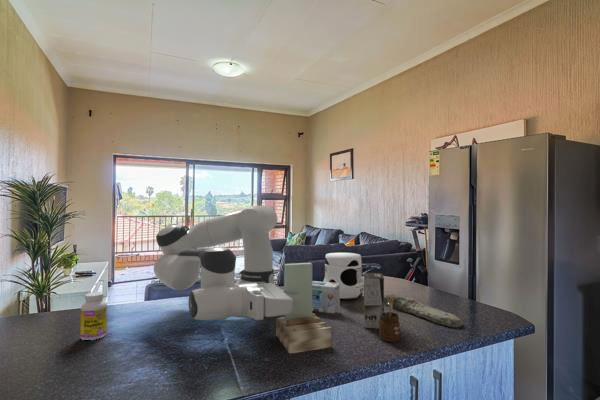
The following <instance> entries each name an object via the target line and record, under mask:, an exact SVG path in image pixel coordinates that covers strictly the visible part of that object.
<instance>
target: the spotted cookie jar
mask: <svg viewBox="0 0 600 400" xmlns="http://www.w3.org/2000/svg"><path fill="white" fill-rule="evenodd" d="M362 266H363V265H362V256H361V254H359V253H355V252H329V253H328V252H327V253H326V254H325V257H324V279H323V281H322V282H331V283H340V301H351V300H356V299H359V298H361V297H362V296H363V295H364V279H363V276H362V274H363V273H362V269H363V267H362Z"/></svg>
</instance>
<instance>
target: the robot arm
mask: <svg viewBox="0 0 600 400" xmlns="http://www.w3.org/2000/svg"><path fill="white" fill-rule="evenodd" d="M277 223H278V215H277V213H276V211H275V210H274V209H272V208H271V207H269V206H267V205H250V206H247V207H245V208H243V210H240V211H239V210H238V211H236V212H235V211H234V212H230V213H227V214H224V215H219V216H217V217H213V218H208V219H206V220H204V221H201V222H198V223H197V224H194V225H193V226H191V227H189V226H186V225H182V224H177V223H175V224H170V225H167V226H165V227H163V228H162V229H160V230H159V231H158V233H156V236H155V240H156V243H157V245H158V247H159V248H160V250H161V252H162V255H161V256H160V257H158V258H157V259H156V261H155V262H154V264H153V272H154V275H155V277H156V278H157V279H158V280H159V282H161V283H162V284H163V285H165V286H166V287H168V288H170V289H172V290H175V291H185V290H187V289H190V288H191V287H192V286H194V285H195V283H196V282H197V280H198V278H200V287H199V288H195V289H193V290H192V289H191V291H190V293H189V295H188V310H189V315H190V316H191V318H192V319H193V320H197V321H218V320H226V319H228V318H232V317H235V318H245V317H247V318H251V319H253V320H255V321H262V320H264V319H265V318H273V317H281V316H284V315H286V314H289V313H291V312H292V311H293V302H294V301H297V300H300V299H301V295H300V294H299V293H293V294H290V295H289V294H286V293H284V288H282V289H281V288H280V287H279V286H278V285H276V284H275V270H274V267H273V266H274V264H273V262H274V261H273V260H274V257H273V256H274V255H273V254H274V253H273V252H274V249H273V247H272V243H271V238H270V232H271V231H272V230H273V229H274V228H275V227H276V225H277ZM239 240H242V244H243V252H244V253H243V256H244V257H243V259H244V261H243V262H244V265H243V266H244V267H243V268H244V269H242V270H241V271H238V275H239V276H240V277H239V279H238V280H237V281H236V282H235V274H236V273H235V272H236V270H235V269H236V264H237V263H236V261H237V255H235V253H234V252H233V251H232V250H231V249H230V248H228V247H227V248H226V247H223V246H221V247H220V245H223V244H227V243H231V242H235V241H239ZM216 246H217V247H216Z"/></svg>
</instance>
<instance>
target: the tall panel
mask: <svg viewBox="0 0 600 400" xmlns="http://www.w3.org/2000/svg"><path fill="white" fill-rule="evenodd" d="M283 266H284V267H283V268H284V269H283V274H284V275H283V289H284V293H286V294H289V295H290V294H293V293H299V294H300V295H301V299H300V300H297V301H294V302H293V311H292V312H291V313H289V314H286V315H283V317H284V322H286V320H289V319H297V318H305V317H312V314H313V311H312V282H313V263H312V262H297V263H295V262H294V263H284V264H283Z"/></svg>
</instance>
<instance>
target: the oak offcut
mask: <svg viewBox="0 0 600 400" xmlns="http://www.w3.org/2000/svg"><path fill="white" fill-rule="evenodd" d="M316 328H321V327H320V326H319V325H311V326H303V327H296V328H294V331H301V330H308V329H316Z"/></svg>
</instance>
